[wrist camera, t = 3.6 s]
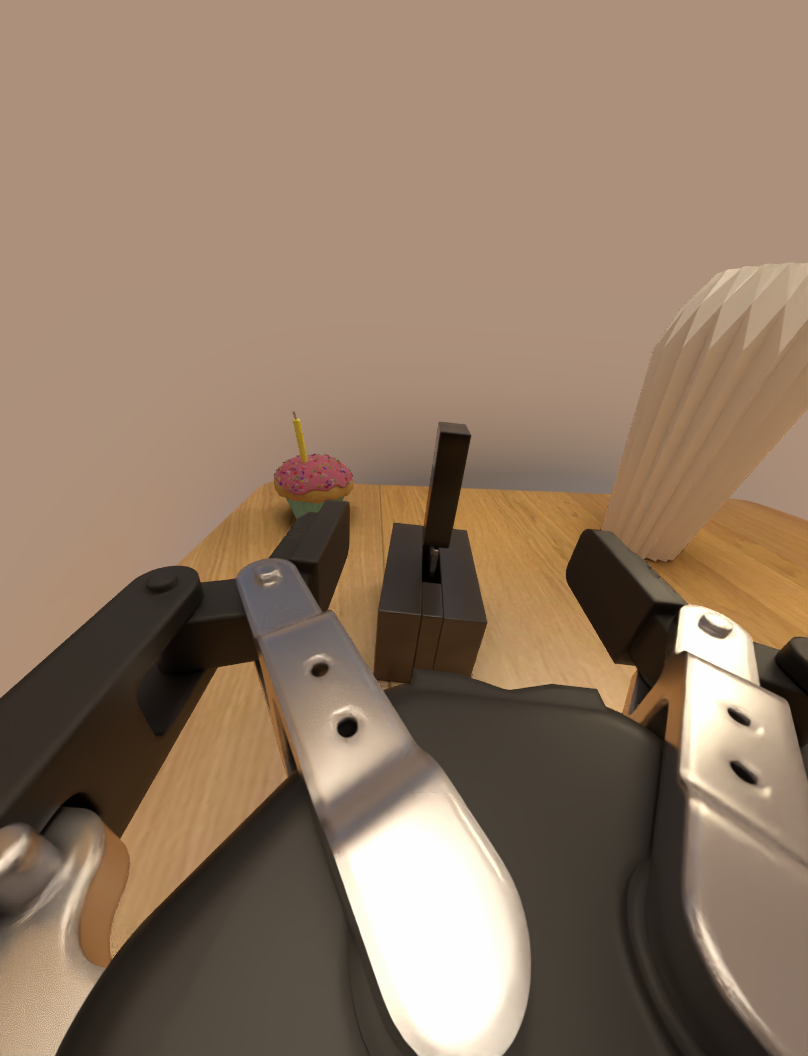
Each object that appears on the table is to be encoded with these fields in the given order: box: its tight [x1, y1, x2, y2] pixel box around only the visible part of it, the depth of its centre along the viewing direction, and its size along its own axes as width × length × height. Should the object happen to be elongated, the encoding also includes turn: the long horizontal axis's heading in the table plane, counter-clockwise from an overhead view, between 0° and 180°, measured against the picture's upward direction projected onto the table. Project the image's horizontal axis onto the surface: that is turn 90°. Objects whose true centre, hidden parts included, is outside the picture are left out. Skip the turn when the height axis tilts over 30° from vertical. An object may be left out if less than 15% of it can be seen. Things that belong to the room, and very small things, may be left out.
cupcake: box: [274, 411, 353, 519], centre depth 35 cm, size 9×8×12 cm
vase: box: [601, 262, 808, 562], centre depth 33 cm, size 13×13×26 cm
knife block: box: [374, 523, 487, 683], centre depth 23 cm, size 6×10×6 cm, turn 177°
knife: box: [423, 422, 471, 583], centre depth 21 cm, size 2×3×15 cm, turn 177°
